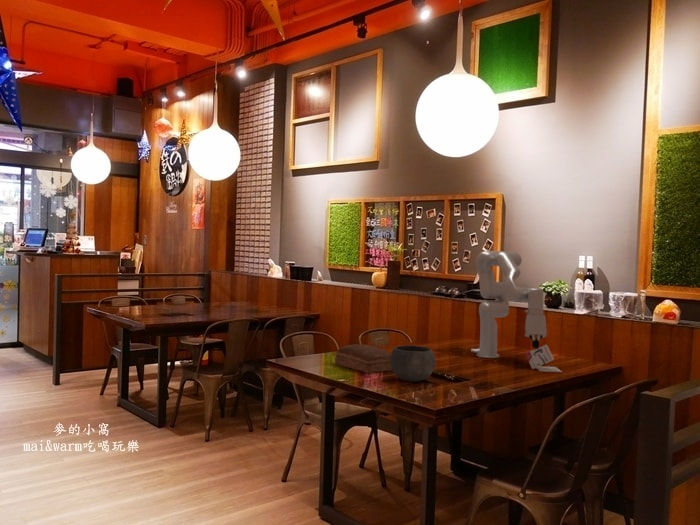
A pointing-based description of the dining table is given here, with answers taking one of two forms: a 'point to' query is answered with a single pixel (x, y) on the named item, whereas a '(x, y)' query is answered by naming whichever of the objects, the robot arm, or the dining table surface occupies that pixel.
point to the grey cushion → (363, 358)
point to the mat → (548, 369)
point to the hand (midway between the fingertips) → (535, 348)
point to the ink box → (539, 356)
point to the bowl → (412, 362)
